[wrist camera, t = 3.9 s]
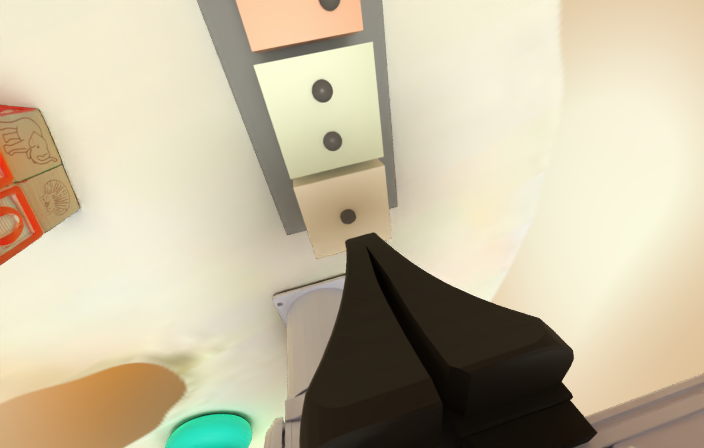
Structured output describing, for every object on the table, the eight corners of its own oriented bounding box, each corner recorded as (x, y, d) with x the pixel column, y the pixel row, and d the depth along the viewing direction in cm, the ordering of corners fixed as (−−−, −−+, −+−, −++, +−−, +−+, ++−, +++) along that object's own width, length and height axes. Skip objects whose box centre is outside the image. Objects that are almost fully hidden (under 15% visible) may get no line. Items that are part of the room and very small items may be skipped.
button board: (393, 200, 21) (407, 219, 19) (287, 228, 21) (287, 251, 18) (366, -115, 12) (387, -161, 9) (168, -87, 11) (134, -130, 9)
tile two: (370, 144, 16) (385, 157, 13) (289, 163, 15) (290, 180, 13) (358, 45, 13) (374, 41, 10) (258, 64, 12) (252, 65, 10)
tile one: (380, 218, 19) (392, 240, 16) (312, 236, 18) (316, 261, 16) (371, 152, 16) (385, 166, 14) (292, 171, 15) (293, 189, 13)
